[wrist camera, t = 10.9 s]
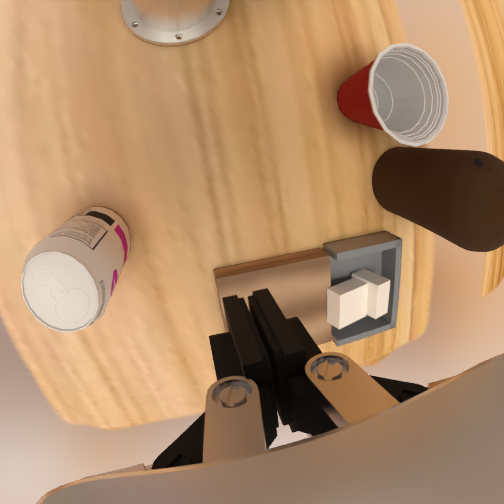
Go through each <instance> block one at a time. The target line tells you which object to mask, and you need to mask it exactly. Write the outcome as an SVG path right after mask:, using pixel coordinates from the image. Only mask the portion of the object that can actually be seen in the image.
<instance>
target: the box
mask: <svg viewBox="0 0 504 504" xmlns="http://www.w3.org/2000/svg"><path fill="white" fill-rule="evenodd" d="M323 246H324V251H325V252H326V253H327V254H329V255H330V277H331V287H332V286H335V285H337V284H340V283H342V282H345V281H347V280H350V279H352V273H355V272H357V271H360V270H362V269H366V270H369V271H371V272H373V273H376V274H378V275H380V276H382V277H385V278H387V279H389V280H390V291H389V301H388V310H387V313H386V314H384V315H382V316H380V317H378V318H377V319H374V318H372V317H370V316H369V315H367V314H366V316H365V317H363V318H361V319H359V320H357V321H355V322H353V323H351V324H349V325H347V326H345V327H343V328H341V329H338V328H336V327H334V326H333V325H331V339H332V340H333V342H334V343H335V344H336V345H337V347H338V346H341V345H344V344H347V343H350V342H354V341H357V340H360V339H363V338H366V337H369V336H372V335H375V334H378V333H381V332H383V331H386V330H389V329H392V328H395V327H396V320H397V311H398V300H399V288H400V275H401V257H402V239H401V238H399V237H397V236H395V235H393V234H391V233H389V232H387V231H383V232H378V233H373V234H369V235H364V236H359V237H354V238H349V239H344V240H339V241H334V242H329V243H324V244H323Z"/></svg>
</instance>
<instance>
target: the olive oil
mask: <svg viewBox="0 0 504 504" xmlns="http://www.w3.org/2000/svg"><path fill="white" fill-rule="evenodd" d="M373 190H374V194H375V196H376V199H377V200H378V202H379V203H380V205H381V206H382V207H383V208H385V209H386V210H388V211H389V212H392V213H394V214H396V215H398V216H401V217H403V218H405V219H407V220H410V221H412V222H414V223H416V224H418V225H420V226H422V227H424V228H426V229H428V230H430V231H432V232H434V233H435V234H437V235H439V236H441V237H443V238H445V239H447V240H448V241H450V242H452V243H454V244H456V245H458V246H459V247H462V248H464V249H466V250H469V251H475V252H488V251H492V250H495V249H497V248H499V247H501V246H502V245H504V162H503V161H502V160H500V159H499V158H497V157H495V156H493V155H491V154H489V153H486V152H481V151H471V150H451V149H428V148H408V147H396V148H392V149H390V150H388V151H386V152H385V153H384V154H383V155H382V156H381V157H380V158H379V160H378V162H377V164H376V166H375V169H374V173H373Z"/></svg>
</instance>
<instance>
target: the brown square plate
mask: <svg viewBox="0 0 504 504" xmlns="http://www.w3.org/2000/svg"><path fill="white" fill-rule="evenodd" d="M214 274H215V280H216V285H217V290H218V295H219V300H220V305H221V311H222V316H223V321H224V325H225V330H226V332H229V331H228V326H227V321H226V316H225V311H224V306H223V300H222V298H223V297H228V296H232V295H237V296H238V298H242V297H244V300H245V302H246V304H247V307H248V309H249V304H248V296H251V295H252V292H253V291H256V290H261V289H266V288H268V290H269V291H270V293H271V295H272V296H273V298H274V299H275V301H276V303H277V304H278V306H279V308H280V309H281V311H282V313H283V314H284V316H285V317H286V319H288V318H292V317H298V318H299V319H300V321H301V322H302V324H303V325H304V327H305V328H306V330H307V331H308V333H309V334H310V336H311V337H312V339H313V340H314V342H315V343H316V344H317V345H319V344H323V343H326V342H330V341H331V324H330V323H328V322H327V288H330V287H331V277H330V255H329V254H327V253H326V252H325V251H323V250H322V249H321V248H317V249H312V250H307V251H303V252H298V253H293V254H288V255H283V256H278V257H273V258H268V259H263V260H258V261H253V262H248V263H243V264H238V265H233V266H228V267H223V268H218V269H214ZM249 311H250V310H249Z"/></svg>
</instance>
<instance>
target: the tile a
mask: <svg viewBox="0 0 504 504" xmlns="http://www.w3.org/2000/svg"><path fill="white" fill-rule="evenodd" d="M367 294H368V283H366V282H364V281H362V280H360V279H358V278H352V279H350V280H347V281H345V282H342V283H340V284H337V285H335V286H332V287H330V288H327V322H328V323H330V324H331V325H333V326H334V327H336V328H338V329H341V328H343V327H345V326H347V325H349V324H351V323H353V322H355V321H357V320H359V319H361V318H363V317H365V316H366V310H367Z"/></svg>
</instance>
